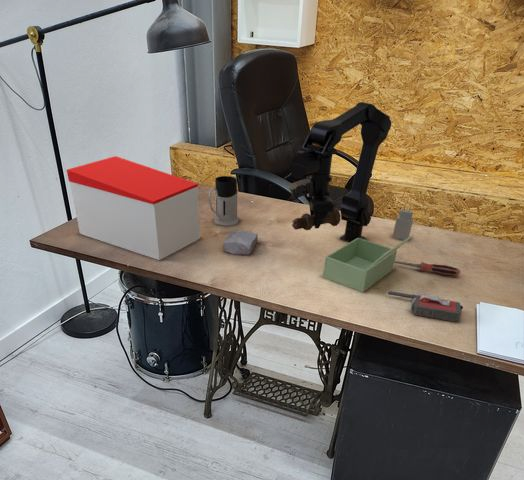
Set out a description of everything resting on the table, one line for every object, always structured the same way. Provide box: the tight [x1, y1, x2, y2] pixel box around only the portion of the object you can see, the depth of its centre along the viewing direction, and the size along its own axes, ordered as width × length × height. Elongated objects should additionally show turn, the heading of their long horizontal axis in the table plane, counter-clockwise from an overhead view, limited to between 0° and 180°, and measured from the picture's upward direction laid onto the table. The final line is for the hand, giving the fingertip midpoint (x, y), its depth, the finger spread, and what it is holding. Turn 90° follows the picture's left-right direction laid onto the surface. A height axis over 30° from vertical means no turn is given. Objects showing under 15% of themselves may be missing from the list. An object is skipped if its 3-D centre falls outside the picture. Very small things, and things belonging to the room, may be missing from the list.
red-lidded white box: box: [66, 155, 201, 261], centre depth 153 cm, size 21×35×21 cm, turn 59°
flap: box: [367, 234, 415, 269], centre depth 133 cm, size 19×7×1 cm
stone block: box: [222, 230, 259, 256], centre depth 154 cm, size 12×5×10 cm
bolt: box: [291, 206, 341, 231], centre depth 144 cm, size 6×5×15 cm
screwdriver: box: [394, 260, 461, 277], centre depth 146 cm, size 25×3×3 cm, turn 72°
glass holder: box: [208, 175, 239, 227], centre depth 167 cm, size 9×14×15 cm, turn 148°
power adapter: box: [392, 203, 414, 241], centre depth 163 cm, size 3×5×12 cm, turn 62°
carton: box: [322, 238, 398, 293], centre depth 141 cm, size 19×14×6 cm
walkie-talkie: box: [386, 290, 464, 323], centre depth 126 cm, size 9×4×20 cm
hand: (314, 224), depth 145 cm, fingers closed on bolt, 6 cm apart
